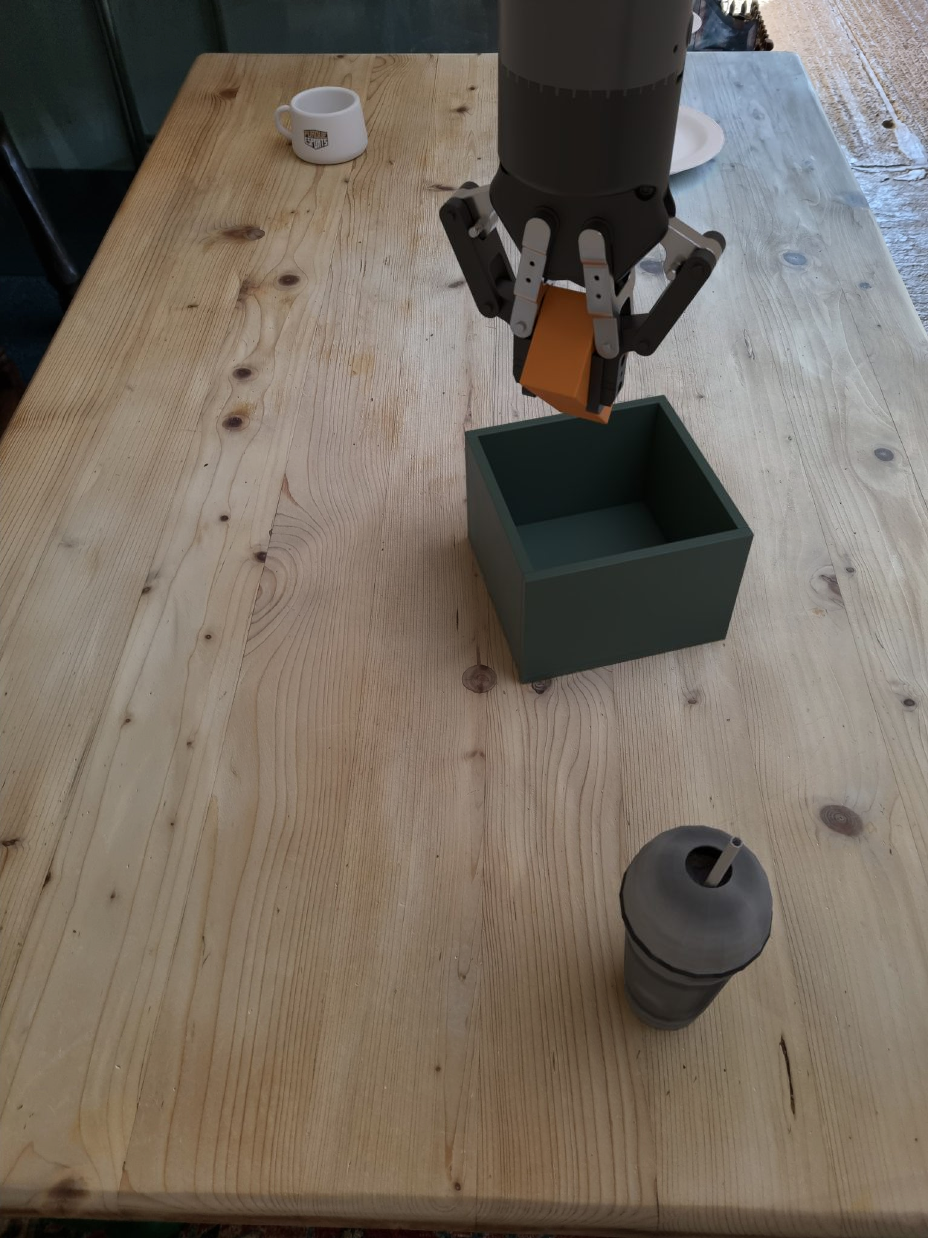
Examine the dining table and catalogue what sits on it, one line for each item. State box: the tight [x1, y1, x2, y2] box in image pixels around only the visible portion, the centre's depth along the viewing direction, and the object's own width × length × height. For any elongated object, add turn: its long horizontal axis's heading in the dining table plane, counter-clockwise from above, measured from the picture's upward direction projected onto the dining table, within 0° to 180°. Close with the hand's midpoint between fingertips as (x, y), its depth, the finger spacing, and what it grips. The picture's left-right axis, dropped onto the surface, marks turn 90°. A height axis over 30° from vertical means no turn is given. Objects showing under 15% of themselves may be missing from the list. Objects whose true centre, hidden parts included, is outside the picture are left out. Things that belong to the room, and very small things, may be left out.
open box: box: [464, 394, 755, 685], centre depth 73 cm, size 16×16×11 cm
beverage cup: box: [618, 824, 774, 1032], centre depth 49 cm, size 7×7×20 cm
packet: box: [518, 285, 630, 424], centre depth 53 cm, size 3×5×9 cm
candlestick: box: [669, 11, 725, 176], centre depth 111 cm, size 21×25×28 cm
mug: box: [273, 86, 369, 165], centre depth 124 cm, size 12×10×6 cm
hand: (567, 395), depth 53 cm, fingers closed on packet, 3 cm apart
